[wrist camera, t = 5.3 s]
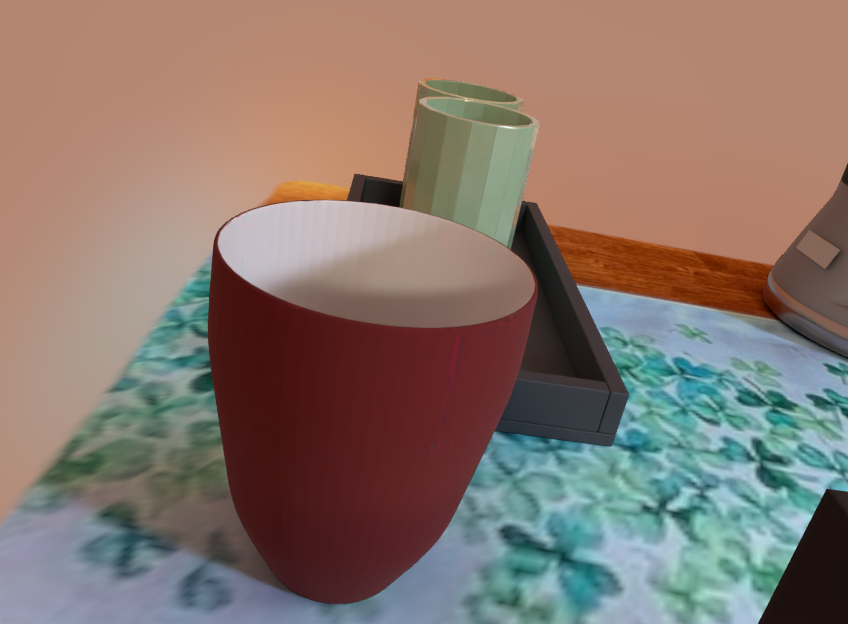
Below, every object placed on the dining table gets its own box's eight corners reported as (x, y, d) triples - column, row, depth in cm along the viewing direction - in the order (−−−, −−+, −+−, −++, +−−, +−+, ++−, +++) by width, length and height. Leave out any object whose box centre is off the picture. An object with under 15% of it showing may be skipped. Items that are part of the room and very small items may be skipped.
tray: (528, 237, 53) (537, 203, 52) (612, 447, 30) (630, 394, 29) (350, 209, 52) (354, 173, 51) (298, 404, 29) (304, 348, 28)
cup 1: (485, 234, 52) (516, 90, 48) (493, 268, 46) (529, 109, 42) (395, 220, 52) (419, 74, 47) (393, 253, 46) (419, 90, 42)
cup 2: (493, 270, 46) (530, 110, 42) (504, 314, 40) (548, 134, 36) (393, 254, 46) (419, 90, 41) (389, 297, 40) (419, 112, 36)
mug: (285, 412, 29) (311, 162, 25) (486, 463, 28) (549, 215, 24) (142, 619, 19) (143, 272, 15) (439, 707, 19) (530, 366, 14)
